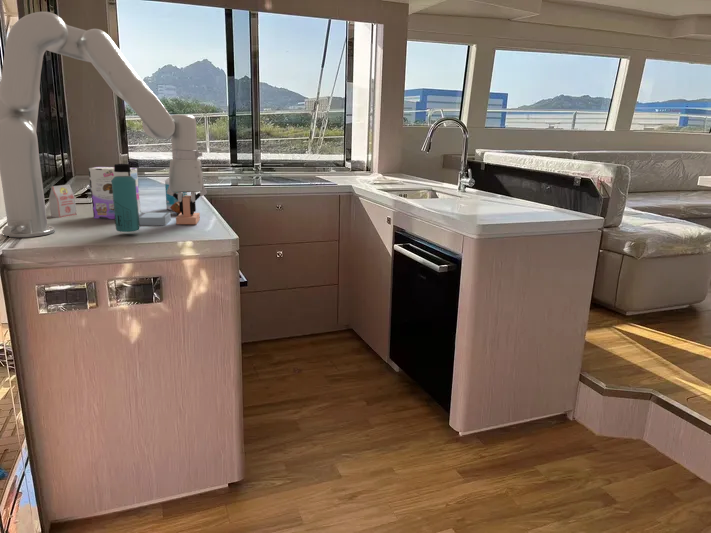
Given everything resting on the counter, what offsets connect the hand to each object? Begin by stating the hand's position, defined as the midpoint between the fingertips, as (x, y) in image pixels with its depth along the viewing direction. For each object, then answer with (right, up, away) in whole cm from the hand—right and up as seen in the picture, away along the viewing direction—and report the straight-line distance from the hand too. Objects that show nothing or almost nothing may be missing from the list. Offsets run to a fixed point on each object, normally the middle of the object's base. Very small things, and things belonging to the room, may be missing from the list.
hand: (187, 213), depth 172 cm
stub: (0, -3, +1) cm, 3 cm away
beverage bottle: (-11, -8, -19) cm, 24 cm away
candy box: (-25, -1, +5) cm, 25 cm away
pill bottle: (-12, +4, +24) cm, 27 cm away
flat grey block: (-12, -3, -1) cm, 12 cm away
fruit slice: (-7, +1, +15) cm, 17 cm away
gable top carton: (-43, 0, +6) cm, 44 cm away
